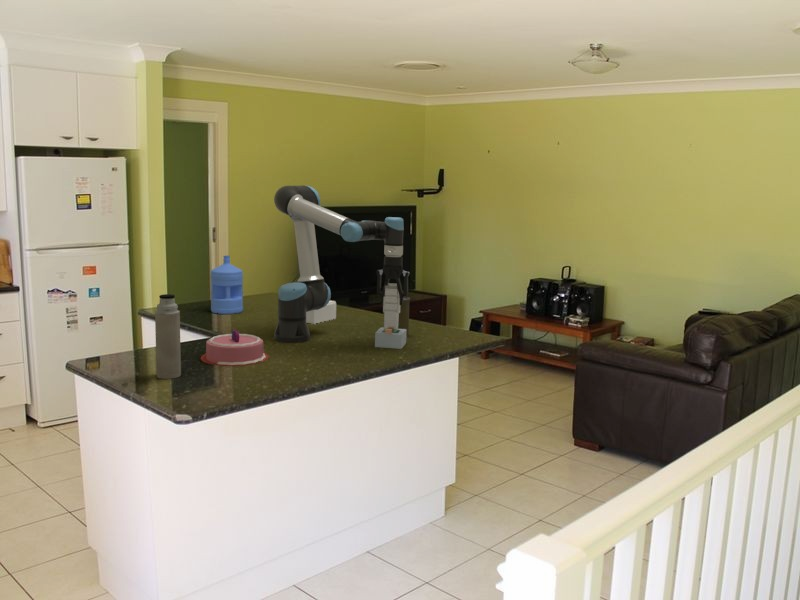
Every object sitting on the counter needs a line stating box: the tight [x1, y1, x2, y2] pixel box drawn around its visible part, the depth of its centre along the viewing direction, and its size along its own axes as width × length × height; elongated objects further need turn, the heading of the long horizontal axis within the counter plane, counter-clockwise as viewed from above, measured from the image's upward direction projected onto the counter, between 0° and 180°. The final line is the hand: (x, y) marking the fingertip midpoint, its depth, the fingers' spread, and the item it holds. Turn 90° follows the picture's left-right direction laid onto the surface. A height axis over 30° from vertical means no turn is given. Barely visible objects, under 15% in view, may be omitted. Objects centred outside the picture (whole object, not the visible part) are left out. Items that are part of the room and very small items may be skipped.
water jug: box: [210, 255, 244, 315], centre depth 363 cm, size 16×16×28 cm
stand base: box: [374, 327, 407, 350], centre depth 301 cm, size 13×13×9 cm
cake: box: [200, 329, 269, 367], centre depth 276 cm, size 25×25×11 cm
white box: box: [306, 300, 337, 325], centre depth 352 cm, size 18×18×16 cm
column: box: [383, 282, 399, 333], centre depth 299 cm, size 5×7×19 cm
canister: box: [398, 296, 411, 338], centre depth 319 cm, size 11×10×20 cm
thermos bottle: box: [154, 293, 182, 380], centre depth 248 cm, size 8×8×28 cm
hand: (391, 312), depth 299 cm, fingers closed on column, 5 cm apart
